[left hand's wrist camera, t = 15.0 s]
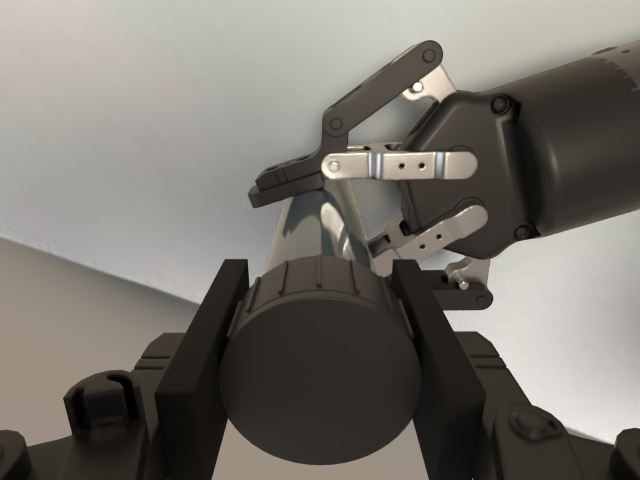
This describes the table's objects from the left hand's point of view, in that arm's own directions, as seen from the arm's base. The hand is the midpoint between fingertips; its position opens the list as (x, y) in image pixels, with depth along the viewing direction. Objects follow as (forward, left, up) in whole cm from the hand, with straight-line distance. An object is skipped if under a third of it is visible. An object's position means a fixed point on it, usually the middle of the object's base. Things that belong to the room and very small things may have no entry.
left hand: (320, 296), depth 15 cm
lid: (0, 0, +4) cm, 4 cm away
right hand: (-2, -2, -8) cm, 8 cm away
